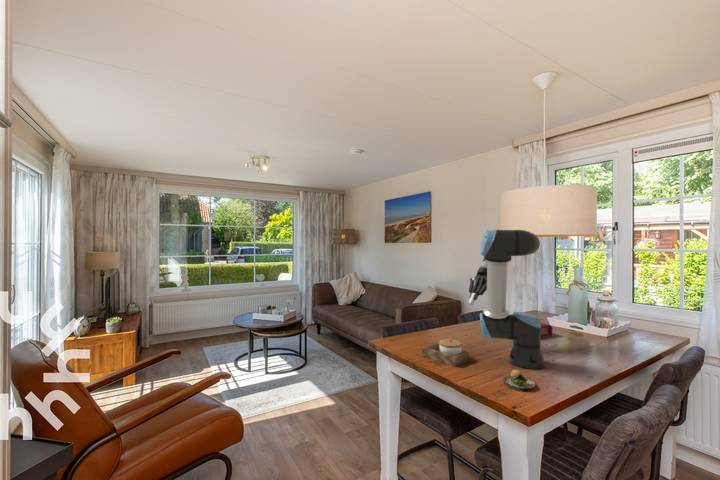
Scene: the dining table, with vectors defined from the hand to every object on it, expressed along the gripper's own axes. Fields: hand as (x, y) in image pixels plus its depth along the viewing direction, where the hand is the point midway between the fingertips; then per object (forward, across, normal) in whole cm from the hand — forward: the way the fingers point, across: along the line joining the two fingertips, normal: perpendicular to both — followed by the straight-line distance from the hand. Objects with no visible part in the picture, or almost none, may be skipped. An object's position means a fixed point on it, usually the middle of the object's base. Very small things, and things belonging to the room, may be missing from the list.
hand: (470, 303), depth 177 cm
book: (-21, -4, -57) cm, 60 cm away
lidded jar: (+32, -1, -2) cm, 32 cm away
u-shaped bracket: (+34, 0, 0) cm, 34 cm away
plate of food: (+36, -37, +1) cm, 51 cm away
